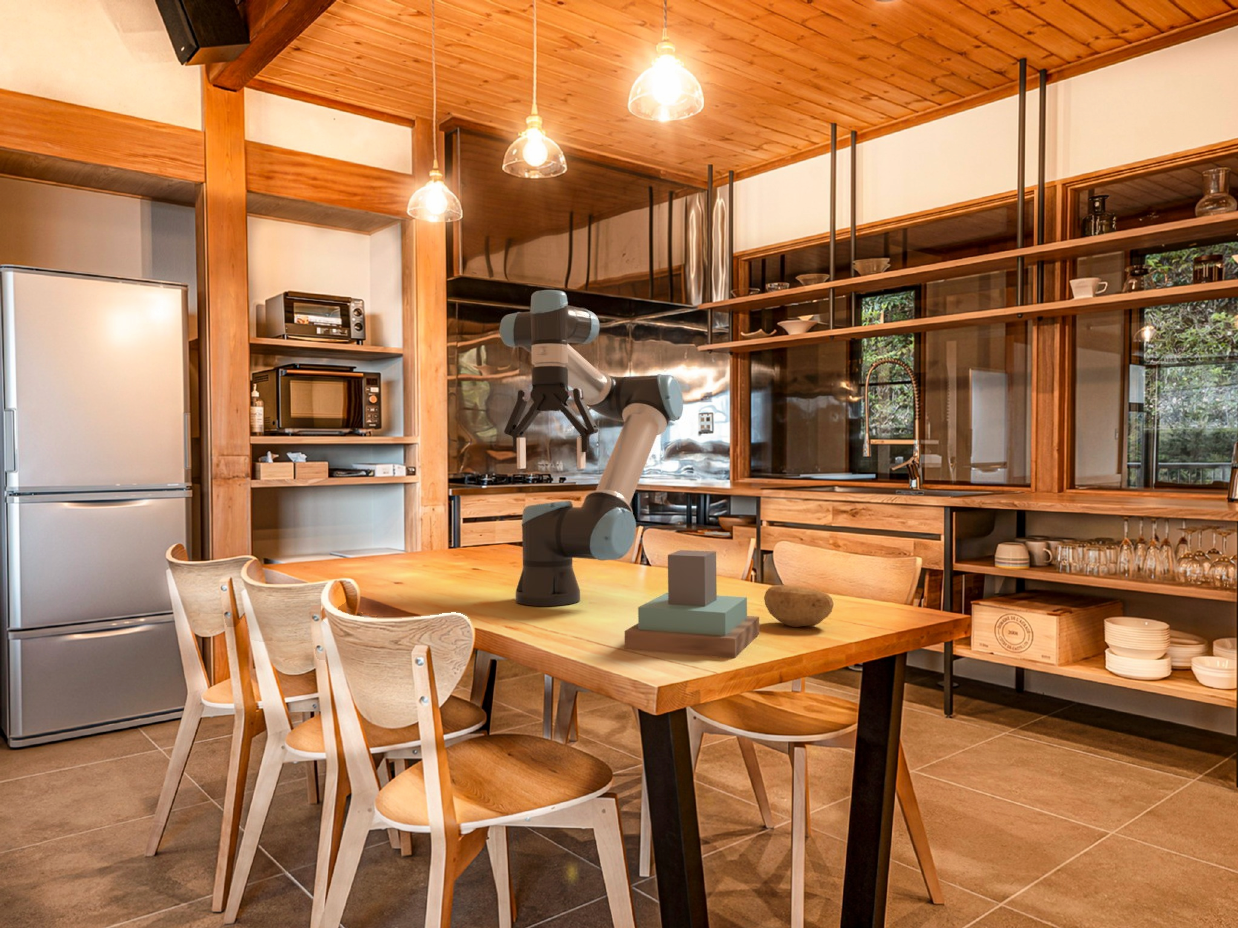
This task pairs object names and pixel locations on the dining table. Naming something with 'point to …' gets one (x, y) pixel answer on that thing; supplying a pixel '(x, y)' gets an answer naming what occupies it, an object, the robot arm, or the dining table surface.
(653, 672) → the dining table surface
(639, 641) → the block bottom
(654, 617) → the block top
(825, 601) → the potato
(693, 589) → the block
